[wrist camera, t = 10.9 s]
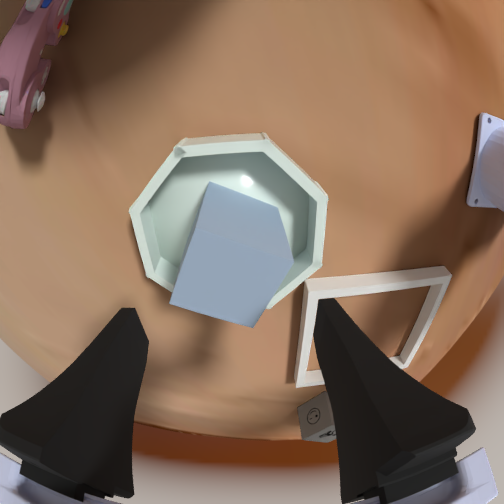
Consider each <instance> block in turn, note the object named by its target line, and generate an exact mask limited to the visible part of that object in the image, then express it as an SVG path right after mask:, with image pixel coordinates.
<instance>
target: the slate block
mask: <svg viewBox="0 0 504 504" xmlns="http://www.w3.org/2000/svg"><path fill="white" fill-rule="evenodd" d="M293 263H294V259H293V256H292V252H291V249H290V246H289V242H288V239H287V236H286V233H285V229H284V226H283V223H282V220H281V216H280V213H279V210H278V207H275V206H273V205H270V204H268V203H265V202H263V201H260V200H258V199H255V198H252V197H250V196H247V195H245V194H242V193H240V192H237V191H234V190H232V189H229V188H226V187H224V186H221V185H218V184H215V183H213V182H210V181H209V183H208V186H207V188H206V191H205V193H204V196H203V198H202V201H201V204H200V206H199V209H198V212H197V214H196V217H195V220H194V222H193V225H192V228H191V231H190V233H189V236H188V239H187V242H186V245H185V249H184V252H183V255H182V259H181V262H180V266H179V269H178V273H177V277H176V280H175V284H174V288H173V291H172V295H171V299H170V303H169V304H172V305H175V306H178V307H181V308H185V309H188V310H191V311H194V312H198V313H201V314H204V315H208V316H211V317H215V318H218V319H222V320H225V321H229V322H232V323H236V324H240V325H244V326H247V327H251V328H253V327H254V326H255V324H256V323H257V321H258V319H259V318H260V316H261V315H262V313H263V312H264V310H265V308H266V307H267V305H268V304H269V302H270V301H271V299H272V297H273V296H274V294H275V293H276V291H277V289H278V288H279V286H280V285H281V283H282V281H283V280H284V278H285V276H286V275H287V273H288V272H289V270H290V268H291V267H292V265H293Z"/></svg>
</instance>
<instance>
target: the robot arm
mask: <svg viewBox="0 0 504 504" xmlns="http://www.w3.org/2000/svg"><path fill="white" fill-rule="evenodd" d="M474 201H475V202H474ZM467 204H468V205H469V206H471V207H490V208H499V209H500V210H502V211H503V212H504V120H502V119H499V118H497V117H494V116H492V115H489V114H487V113H481V114H480V116H479V127H478V137H477V145H476V152H475V159H474V165H473V171H472V176H471V182H470V187H469V191H468V196H467ZM313 336H314V342H315V348H316V354H317V359H318V362H319V366H320V369H321V372H322V376H323V379H324V383H325V386H326V389H327V393H328V396H329V400H330V403H331V408H332V412H333V418H334V425H335V431H336V439H337V446H338V457H339V468H340V487H341V500H342V504H345V503H350V502H354V501H358V500H361V499H364V500H363V501H359V502H355V503H351V504H487V503H488V502H489V501H491V500H492V499H493V498H495V497H496V496H497V495H498V490H497V487H496V484H495V480H494V477H493V473H492V470H491V467H490V464H489V461H488V458H487V455H486V452H485V449H484V448H483V447H482V448H480V449H478V450H477V451H475V452H473V453H472V454H470V455H468V456H466V457H464V458H463V459H461V460H459V461H457V462H456V463H455V459H454V457H455V456H457V451H456V447H457V446H458V445H460V444H461V443H462V442H464V441H465V440H466V439H468V438H469V437H470V436H471V435H472V434H473V433H474V432H475V430H476V428H475V425H474V423H473V420H472V418H471V416H470V414H469V412H468V410H467V409H466V408H464V407H462V406H460V405H458V404H455V403H453V402H451V401H449V400H447V399H445V398H443V397H442V396H440V395H438V394H437V393H435V392H433V391H431V390H430V389H428V388H427V387H425V386H424V385H422V384H421V383H420V382H418V381H417V380H415V379H414V378H412V377H411V376H410V375H408V374H407V373H406V372H404V371H403V370H402V369H401V368H399V367H398V366H397V365H396V364H395V363H394V362H392V361H391V360H390V359H389V358H388V357H387V356H386V355H385V354H384V353H383V352H382V351H381V350H380V349H379V348H378V347H377V346H376V345H375V344H374V343H373V342H372V341H371V340H370V339H369V338H368V337H367V336H366V335H365V334H364V333H363V331H362V330H361V329H360V328H359V327H358V326H357V325H356V324H355V323H354V321H353V320H352V319H351V318H350V317H349V315H348V314H347V313H346V312H345V311H344V309H343V308H342V307H341V306H340V304H339V303H338V302H337V301H336V300H335V299H334V298H329V299H319V300H318V307H317V314H316V321H315V327H314V333H313ZM148 345H149V340H148V338H147V336H146V333H145V331H144V329H143V326H142V324H141V322H140V319H139V317H138V314H137V312H136V309H135V308H121V309H120V310H119V311H118V313H117V314H116V315H115V316H114V317H113V318H112V319H111V321H110V322H109V323H108V324H107V325H106V326H105V328H104V329H103V330H102V331H101V332H100V333H99V335H98V336H97V337H96V338H95V339H94V340H93V342H92V343H91V344H90V345H89V346H88V347H87V348H86V349H85V350H84V351H83V352H82V354H81V355H80V356H79V357H78V358H77V359H76V360H75V361H74V362H73V363H72V364H71V365H70V366H69V367H68V368H67V369H66V370H65V371H64V372H63V373H62V374H60V375H59V376H58V377H57V378H56V379H55V380H53V381H52V382H51V383H50V384H49V385H47V386H46V387H45V388H43V389H42V390H41V391H40V392H38V393H37V394H36V395H34V396H33V397H31V398H29V399H28V400H27V401H25V402H23V403H22V404H20V405H18V406H16V407H15V408H13V409H11V410H9V411H7V412H5V413H3V414H2V415H1V417H0V445H1V446H3V447H4V448H5V449H7V450H8V451H10V452H11V453H13V454H14V455H16V456H17V457H19V458H21V459H22V464H20V463H18V462H16V461H14V460H12V459H11V458H9V457H7V456H6V455H4V454H2V453H0V504H121V503H117V502H113V501H109V500H106V499H104V498H105V496H108V497H111V498H113V496H114V495H116V496H119V497H124V498H131V497H132V496H133V495H134V487H133V475H132V435H133V423H134V414H135V408H136V404H137V399H138V395H139V391H140V387H141V383H142V379H143V375H144V371H145V366H146V361H147V354H148Z"/></svg>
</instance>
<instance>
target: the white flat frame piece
mask: <svg viewBox="0 0 504 504" xmlns="http://www.w3.org/2000/svg"><path fill="white" fill-rule="evenodd" d="M451 277H452V274H451V273H450V272H449V271H448V270H447V269H446V267H445V266H437V267H428V268H419V269H410V270H400V271H390V272H380V273H370V274H359V275H348V276H336V277H323V278H311V279H306V280H305V281H304V293H303V303H302V313H301V323H300V332H299V341H298V349H297V357H296V365H295V372H294V380H295V386H296V388H299V387H307V386H315V385H322V384H325V383H324V379H323V376H322V372H321V370H314V371H306V370H307V365H308V359H309V354H310V348H311V342H312V336H313V330H314V324H315V317H316V311H317V304H318V299H323V298H333V297H343V296H353V295H362V294H370V293H379V292H387V291H394V290H402V289H409V288H416V287H423V286H430V285H431V287H430V289H429V292H428V294H427V297H426V299H425V302H424V304H423V307H422V309H421V311H420V314H419V316H418V318H417V320H416V323H415V325H414V327H413V329H412V331H411V333H410V336H409V338H408V340H407V342H406V344H405V346H404V348H403V350H402V352H401V354H400V355H399V356H395V357H390V358H389V359H390V360H391V361H392V362H394V363H395V364H396V365H397V366H398V367H399V368H401V369H403V368H407V367H408V365H409V364H410V362H411V360H412V358H413V357H414V355H415V353H416V351H417V350H418V348H419V346H420V344H421V342H422V340H423V338H424V336H425V335H426V333H427V331H428V329H429V327H430V325H431V323H432V321H433V318H434V316H435V314H436V312H437V310H438V308H439V306H440V303H441V301H442V299H443V296H444V294H445V292H446V289H447V287H448V285H449V282H450V280H451Z"/></svg>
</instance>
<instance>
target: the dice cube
mask: <svg viewBox="0 0 504 504" xmlns="http://www.w3.org/2000/svg"><path fill="white" fill-rule="evenodd" d="M297 410H298V416H299V423H300V429H301V436H302V440H309V441H318V442H330V441H332V440H334V439H336V431H335V425H334V418H333V412H332V408H331V403H330V400H329V396H328V393H327V392H326V391H324V392H322V393H321V394H319V395H318V396H316V397H314V398H313V399H311V400H309V401H308V402H306V403H304V404H303V405H301V406H299V407H297Z"/></svg>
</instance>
